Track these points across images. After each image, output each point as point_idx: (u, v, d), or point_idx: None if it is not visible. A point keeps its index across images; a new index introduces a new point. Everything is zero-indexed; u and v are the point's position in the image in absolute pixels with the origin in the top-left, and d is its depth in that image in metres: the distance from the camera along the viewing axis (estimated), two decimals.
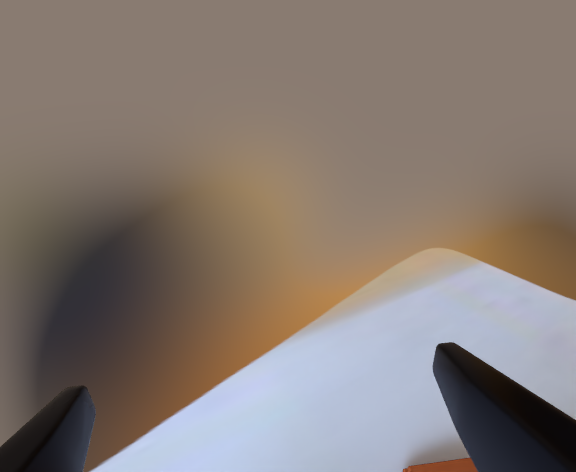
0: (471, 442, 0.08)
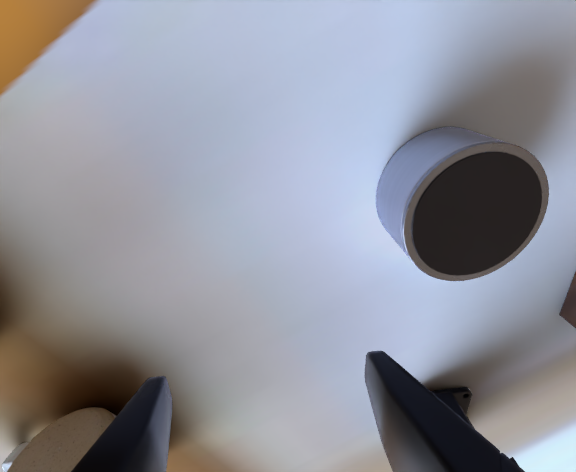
0: (391, 453, 0.08)
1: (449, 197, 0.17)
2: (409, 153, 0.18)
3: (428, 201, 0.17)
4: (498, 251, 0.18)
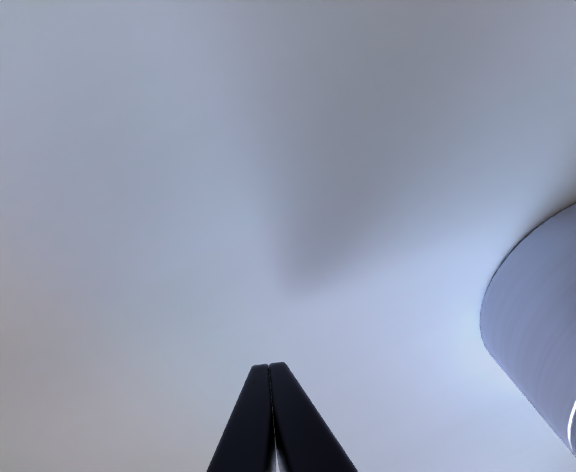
0: (280, 469, 0.08)
1: None
2: (571, 246, 0.09)
3: None
4: None
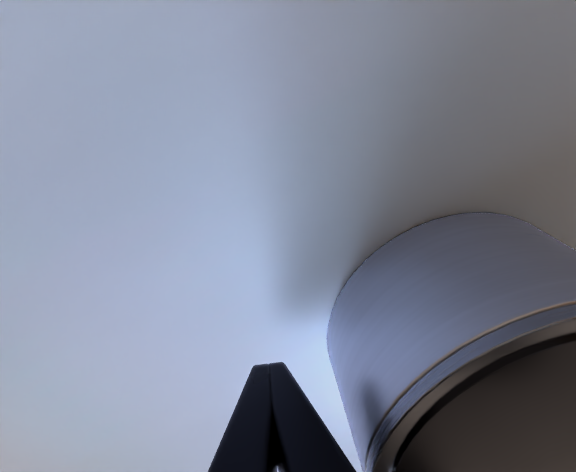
0: (279, 469, 0.08)
1: (486, 428, 0.06)
2: (388, 279, 0.08)
3: (433, 437, 0.06)
4: None
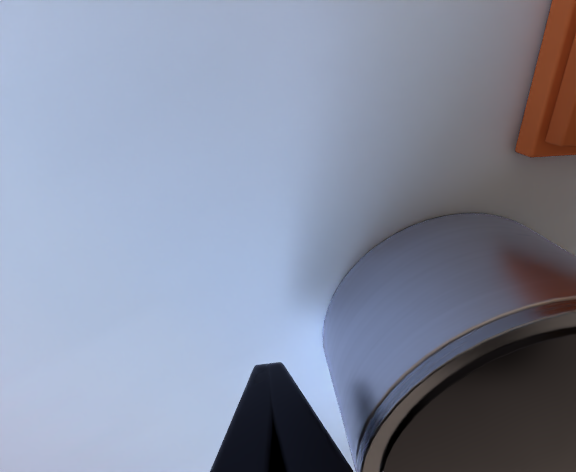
0: (277, 469, 0.08)
1: (474, 423, 0.07)
2: (383, 276, 0.08)
3: (422, 430, 0.07)
4: None
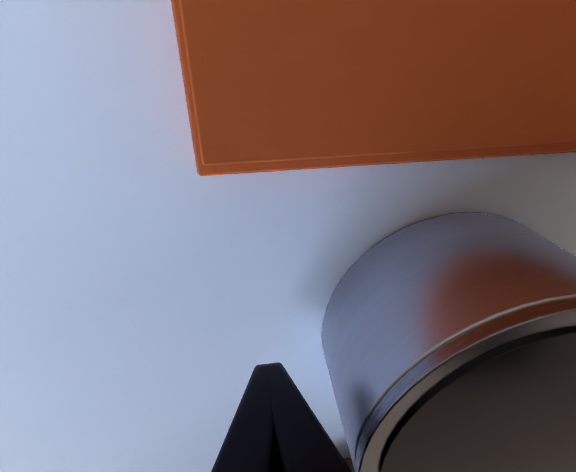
0: None
1: (472, 421, 0.07)
2: (381, 276, 0.08)
3: (420, 429, 0.07)
4: None
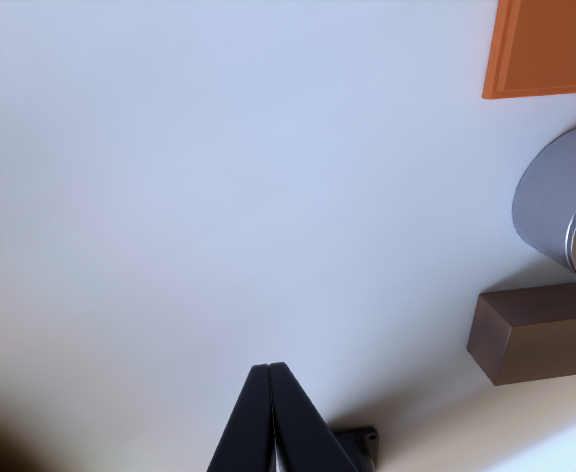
0: (280, 469, 0.08)
1: None
2: (567, 150, 0.17)
3: None
4: None
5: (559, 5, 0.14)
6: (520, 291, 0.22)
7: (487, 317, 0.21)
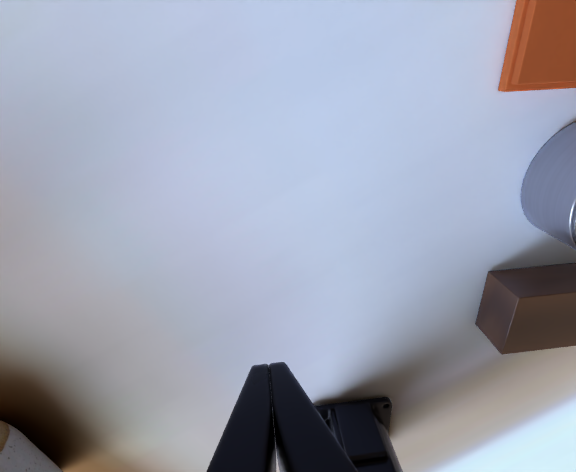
0: (280, 469, 0.08)
1: None
2: (572, 138, 0.19)
3: None
4: None
5: (568, 9, 0.16)
6: (526, 269, 0.24)
7: (496, 292, 0.23)
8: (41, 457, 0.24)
